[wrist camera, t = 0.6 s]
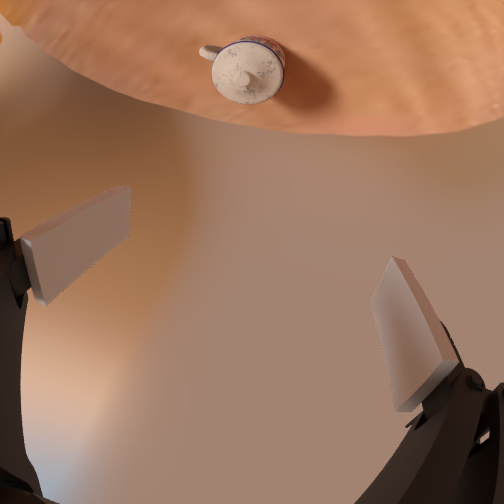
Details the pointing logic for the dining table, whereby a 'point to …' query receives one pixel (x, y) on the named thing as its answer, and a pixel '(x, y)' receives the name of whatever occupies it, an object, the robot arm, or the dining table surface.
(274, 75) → the teacup with lid
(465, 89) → the dining table surface
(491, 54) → the dining table surface
